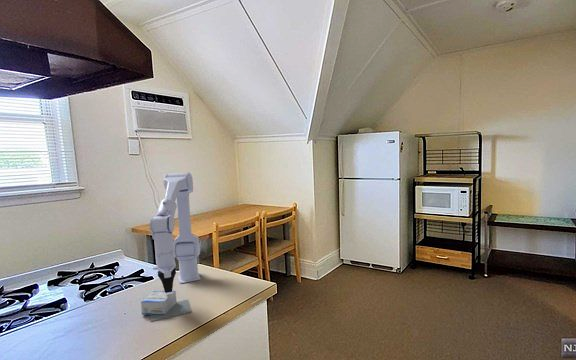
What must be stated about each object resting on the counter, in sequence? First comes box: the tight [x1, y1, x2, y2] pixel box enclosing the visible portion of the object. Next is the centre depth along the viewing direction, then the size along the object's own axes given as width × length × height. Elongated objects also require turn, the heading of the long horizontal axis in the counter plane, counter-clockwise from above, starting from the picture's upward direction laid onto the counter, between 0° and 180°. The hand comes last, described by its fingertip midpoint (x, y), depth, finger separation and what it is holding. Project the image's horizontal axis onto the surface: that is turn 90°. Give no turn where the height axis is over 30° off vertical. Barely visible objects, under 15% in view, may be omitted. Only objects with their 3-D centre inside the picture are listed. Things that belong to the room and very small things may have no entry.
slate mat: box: [150, 299, 192, 323], centre depth 107 cm, size 10×12×1 cm
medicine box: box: [140, 290, 178, 316], centre depth 108 cm, size 8×4×9 cm
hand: (168, 291), depth 109 cm, fingers closed
